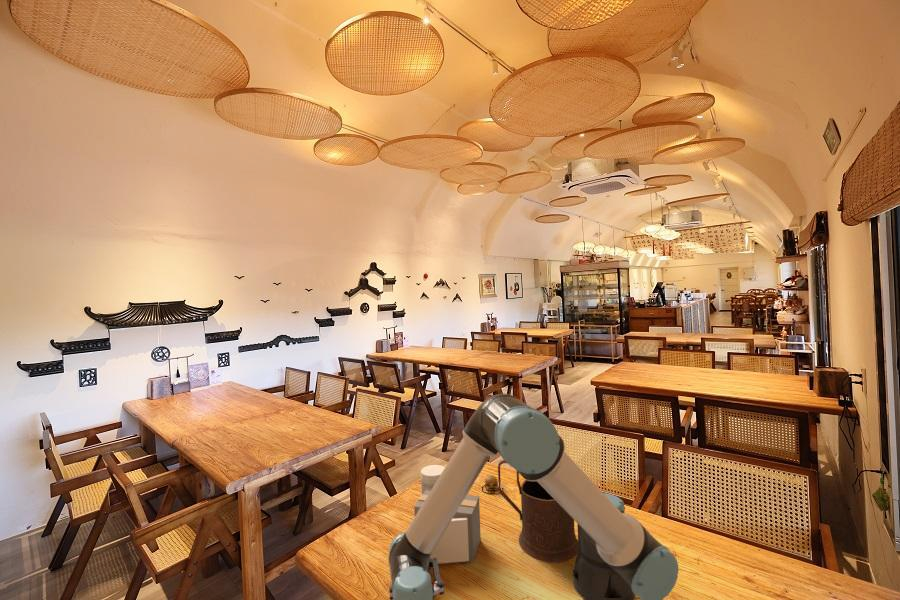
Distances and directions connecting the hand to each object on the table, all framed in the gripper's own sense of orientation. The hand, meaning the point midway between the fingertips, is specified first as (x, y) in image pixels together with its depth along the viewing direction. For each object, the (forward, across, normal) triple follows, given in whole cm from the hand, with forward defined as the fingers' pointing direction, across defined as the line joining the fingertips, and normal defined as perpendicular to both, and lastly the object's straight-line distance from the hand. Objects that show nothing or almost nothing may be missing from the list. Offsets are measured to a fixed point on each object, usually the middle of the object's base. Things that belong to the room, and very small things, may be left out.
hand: (417, 545), depth 106 cm
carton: (+9, +9, -7) cm, 15 cm away
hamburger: (+42, +29, -8) cm, 51 cm away
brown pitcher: (+8, +38, -7) cm, 39 cm away
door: (-3, +6, -6) cm, 9 cm away
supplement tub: (+29, +6, -7) cm, 31 cm away
